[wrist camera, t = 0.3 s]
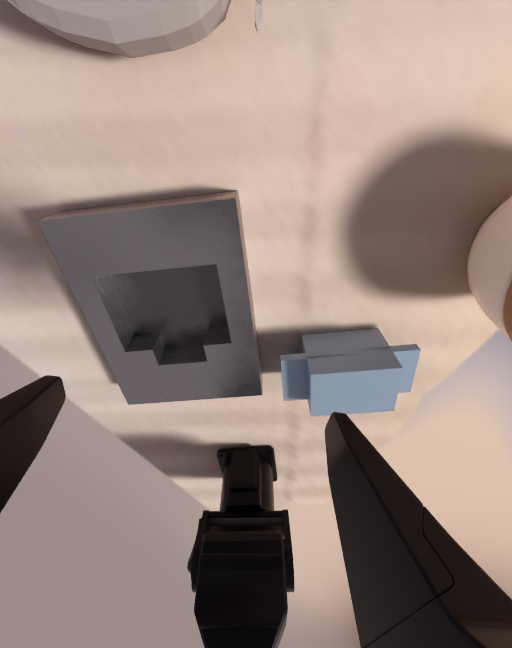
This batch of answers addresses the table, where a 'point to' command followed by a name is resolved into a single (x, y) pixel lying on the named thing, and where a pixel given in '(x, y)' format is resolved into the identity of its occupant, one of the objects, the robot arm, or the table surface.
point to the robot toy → (131, 22)
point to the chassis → (164, 294)
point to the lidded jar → (494, 267)
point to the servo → (348, 372)
